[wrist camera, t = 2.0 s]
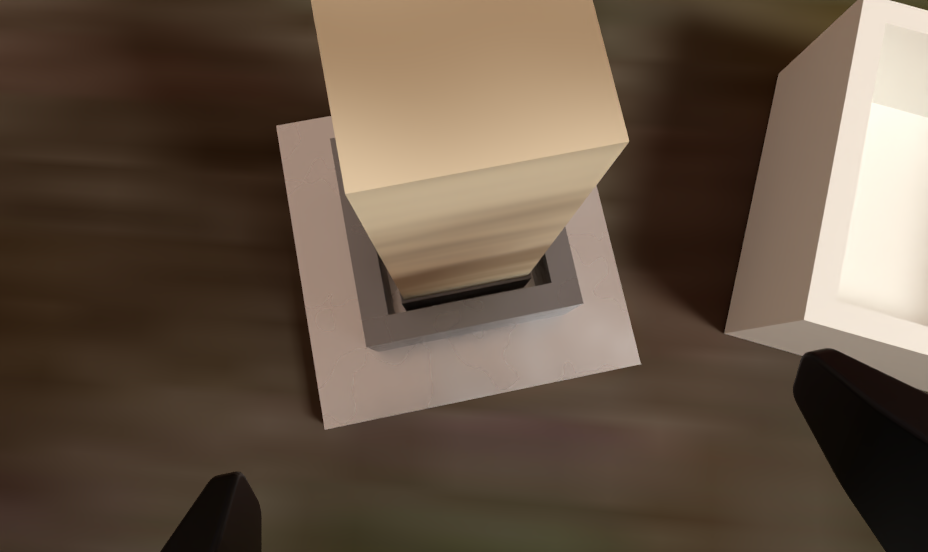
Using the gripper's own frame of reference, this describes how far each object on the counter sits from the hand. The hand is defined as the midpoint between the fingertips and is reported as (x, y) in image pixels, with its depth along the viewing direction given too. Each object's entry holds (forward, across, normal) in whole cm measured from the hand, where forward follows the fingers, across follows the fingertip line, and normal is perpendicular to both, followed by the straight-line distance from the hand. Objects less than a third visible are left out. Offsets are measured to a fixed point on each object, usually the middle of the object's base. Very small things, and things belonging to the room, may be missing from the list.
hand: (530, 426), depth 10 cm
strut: (+12, 0, +4) cm, 13 cm away
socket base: (+12, 0, +4) cm, 13 cm away
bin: (+10, -16, +6) cm, 20 cm away
